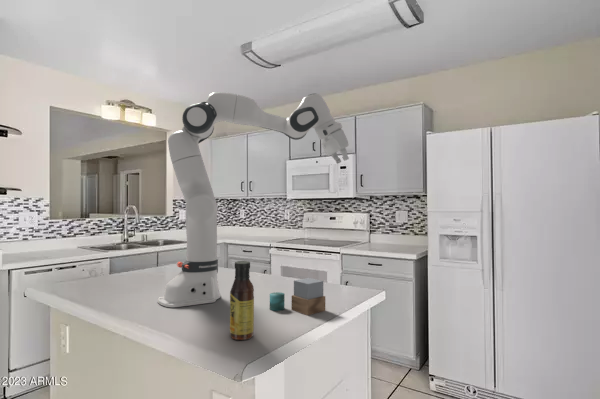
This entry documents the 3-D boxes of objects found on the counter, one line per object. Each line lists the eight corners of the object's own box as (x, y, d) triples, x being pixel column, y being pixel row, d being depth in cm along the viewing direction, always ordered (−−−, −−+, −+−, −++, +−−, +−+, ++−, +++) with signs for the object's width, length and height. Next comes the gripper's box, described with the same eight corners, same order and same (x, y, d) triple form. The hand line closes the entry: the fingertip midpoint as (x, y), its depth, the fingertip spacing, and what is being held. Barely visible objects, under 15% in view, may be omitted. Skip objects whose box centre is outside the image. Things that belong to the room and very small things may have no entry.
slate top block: (307, 299, 114) (307, 284, 114) (293, 295, 119) (293, 280, 119) (323, 296, 118) (323, 281, 119) (309, 292, 124) (309, 277, 124)
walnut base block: (307, 316, 113) (307, 300, 113) (291, 310, 119) (291, 295, 119) (325, 311, 118) (325, 296, 118) (309, 306, 124) (309, 291, 124)
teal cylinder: (275, 312, 117) (275, 296, 117) (266, 308, 120) (266, 293, 120) (287, 309, 120) (287, 294, 120) (278, 306, 124) (278, 291, 124)
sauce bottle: (231, 333, 97) (231, 259, 97) (254, 332, 97) (254, 259, 98) (228, 342, 90) (228, 263, 91) (253, 341, 91) (253, 263, 91)
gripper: (315, 139, 155) (329, 167, 156) (328, 129, 135) (344, 161, 136) (327, 133, 156) (341, 161, 157) (342, 122, 136) (358, 154, 137)
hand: (342, 161), depth 146 cm, fingers open, 8 cm apart
